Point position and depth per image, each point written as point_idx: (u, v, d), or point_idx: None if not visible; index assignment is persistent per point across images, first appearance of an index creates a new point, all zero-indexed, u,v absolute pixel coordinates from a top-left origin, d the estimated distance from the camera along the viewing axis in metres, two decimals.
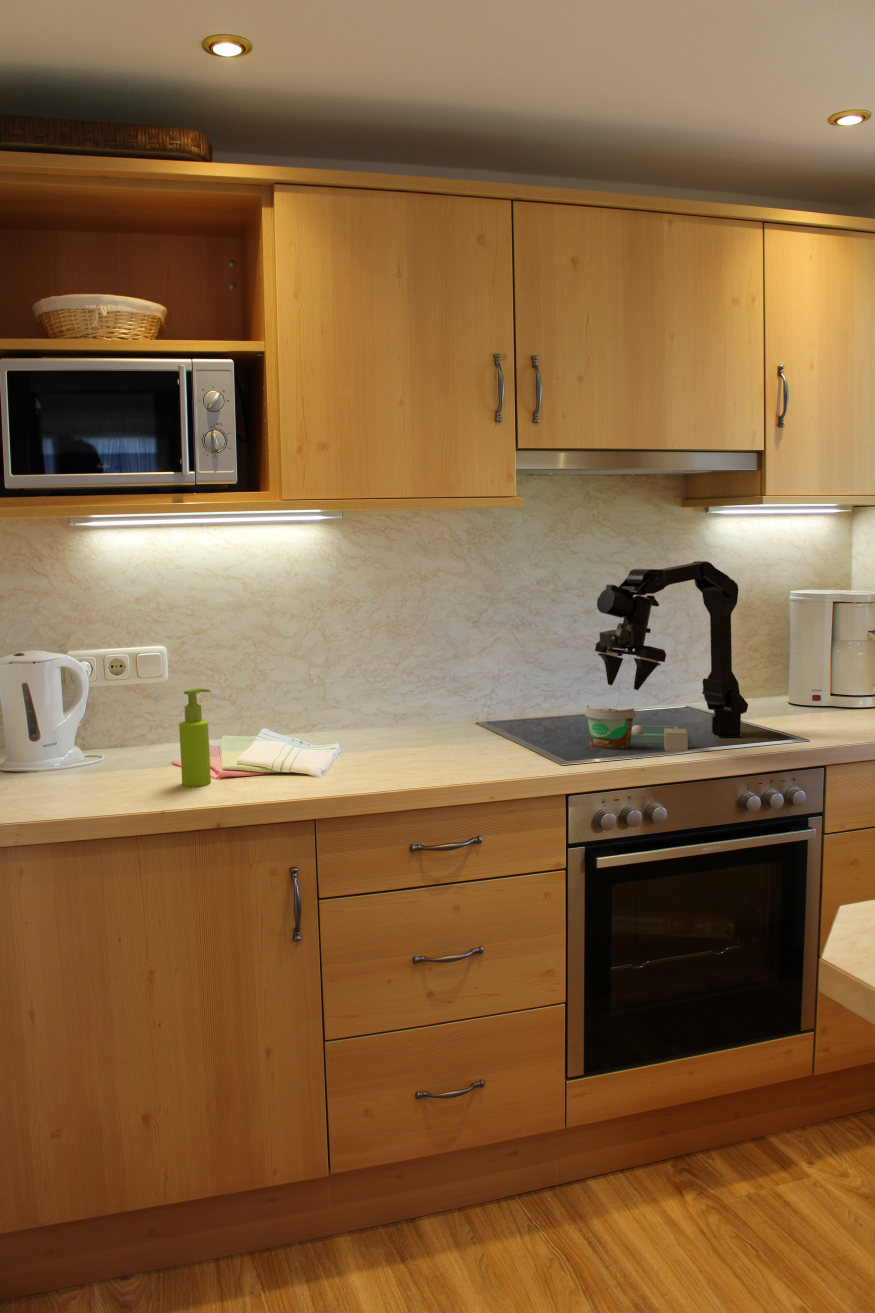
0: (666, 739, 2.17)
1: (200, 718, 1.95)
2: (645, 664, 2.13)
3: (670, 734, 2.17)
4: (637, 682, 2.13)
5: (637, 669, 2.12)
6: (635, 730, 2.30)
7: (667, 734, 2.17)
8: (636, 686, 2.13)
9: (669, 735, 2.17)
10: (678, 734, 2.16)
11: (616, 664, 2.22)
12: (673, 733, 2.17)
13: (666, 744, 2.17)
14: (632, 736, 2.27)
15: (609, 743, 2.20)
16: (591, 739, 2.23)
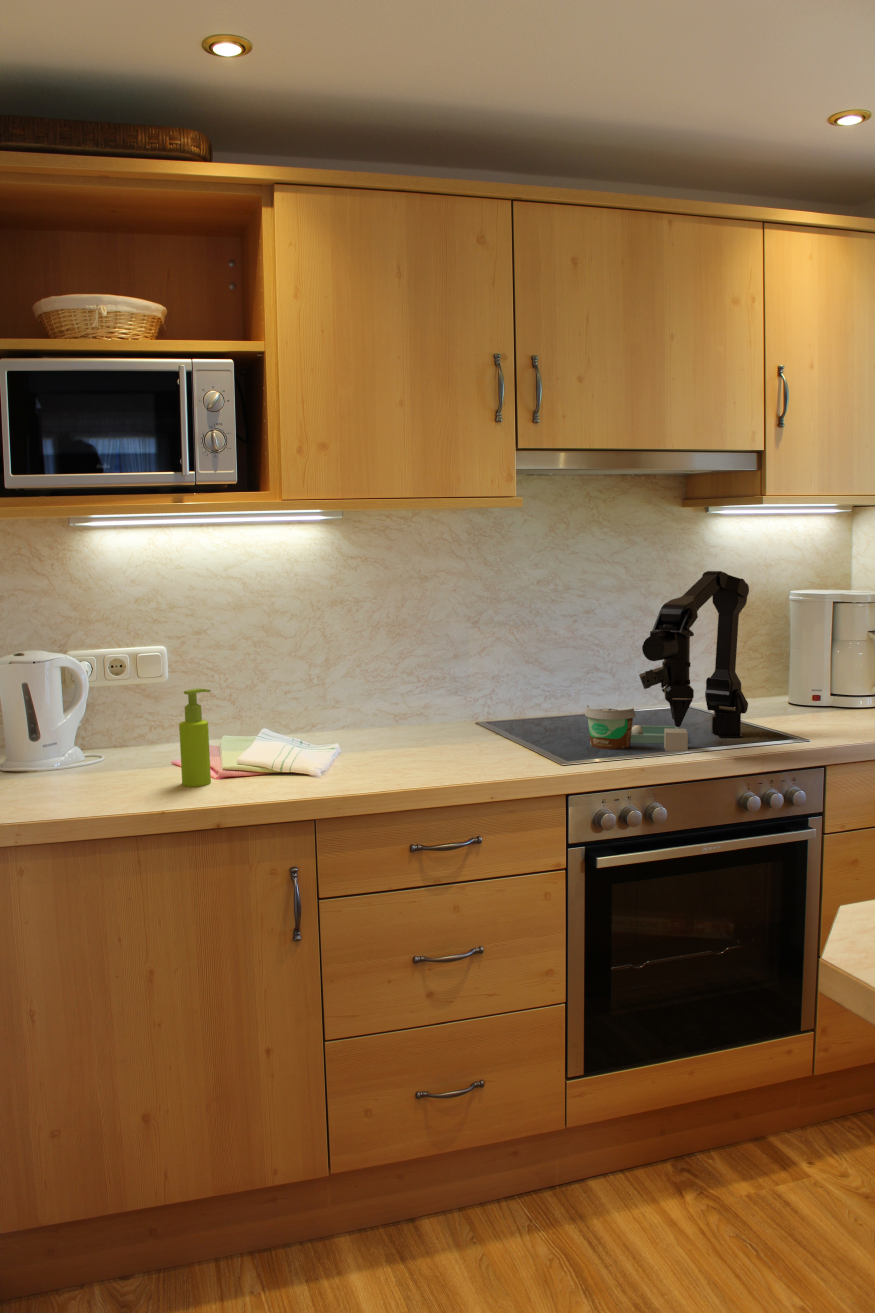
0: (666, 739, 2.17)
1: (200, 718, 1.95)
2: (679, 701, 2.12)
3: (670, 734, 2.17)
4: (675, 720, 2.14)
5: (672, 707, 2.13)
6: (635, 730, 2.30)
7: (667, 734, 2.17)
8: (676, 724, 2.14)
9: (669, 735, 2.17)
10: (678, 734, 2.16)
11: None
12: (673, 733, 2.17)
13: (666, 744, 2.17)
14: (632, 736, 2.27)
15: (609, 743, 2.20)
16: (591, 739, 2.23)
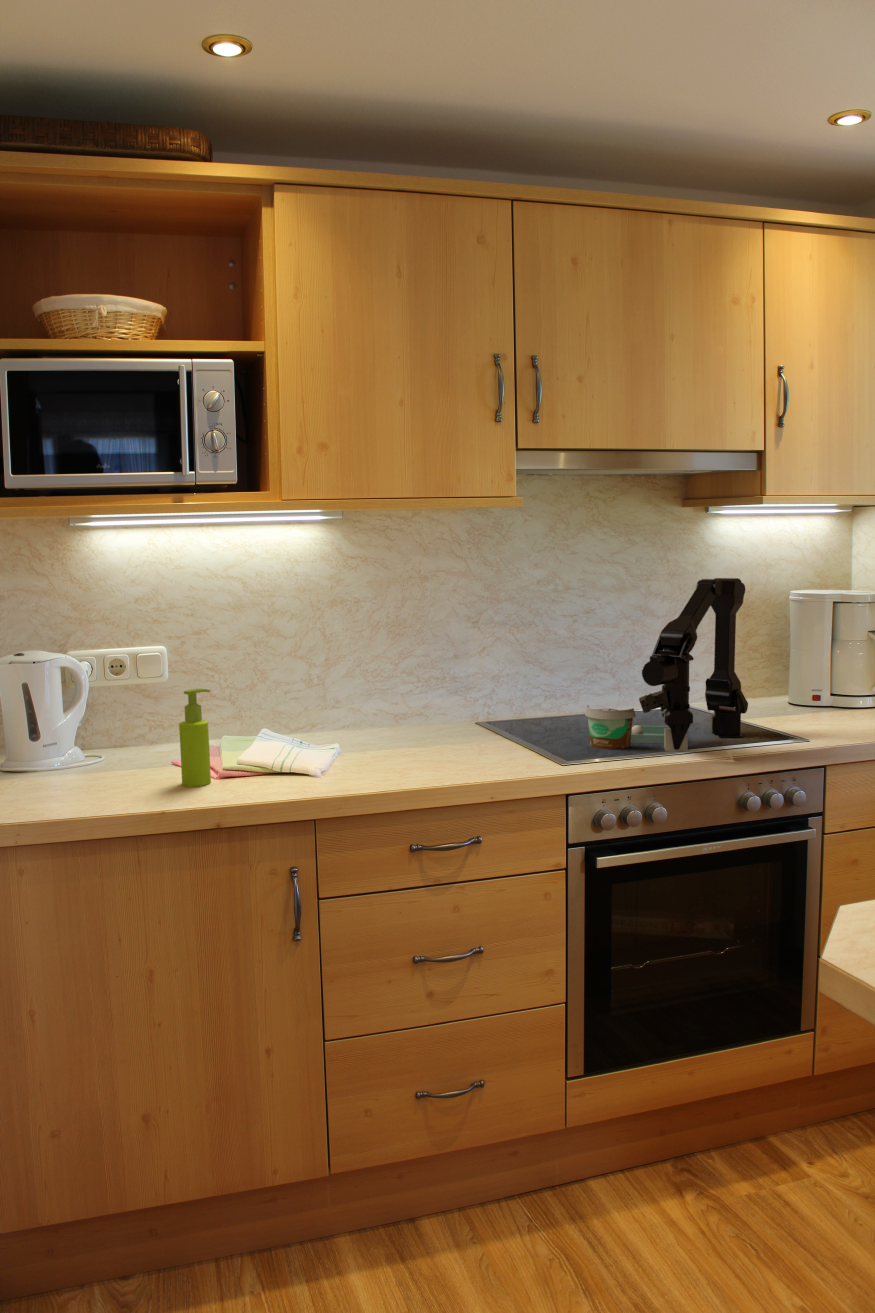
0: (666, 739, 2.17)
1: (200, 718, 1.95)
2: (678, 724, 2.15)
3: (670, 734, 2.17)
4: (674, 742, 2.16)
5: None
6: (635, 730, 2.30)
7: (667, 734, 2.17)
8: (675, 746, 2.16)
9: (669, 735, 2.17)
10: None
11: None
12: None
13: (666, 744, 2.17)
14: (632, 736, 2.27)
15: (609, 743, 2.20)
16: (591, 739, 2.23)
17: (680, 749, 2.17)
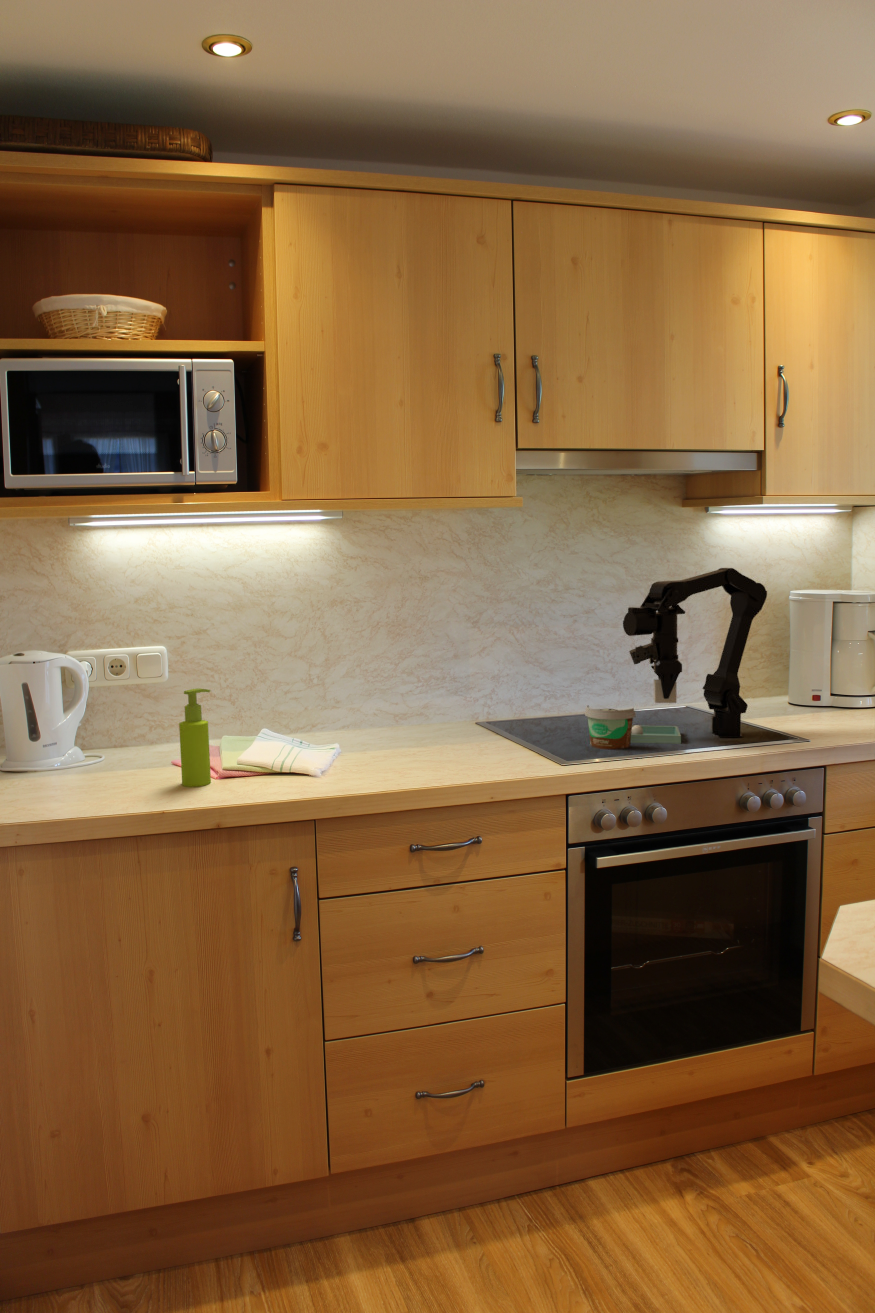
0: (656, 689, 2.26)
1: (200, 718, 1.95)
2: (667, 674, 2.24)
3: (659, 684, 2.26)
4: (663, 692, 2.25)
5: (660, 680, 2.24)
6: (635, 730, 2.30)
7: (657, 684, 2.26)
8: (665, 696, 2.25)
9: (659, 685, 2.26)
10: None
11: None
12: None
13: (656, 693, 2.26)
14: (632, 736, 2.27)
15: (609, 743, 2.20)
16: (591, 739, 2.23)
17: (669, 698, 2.26)
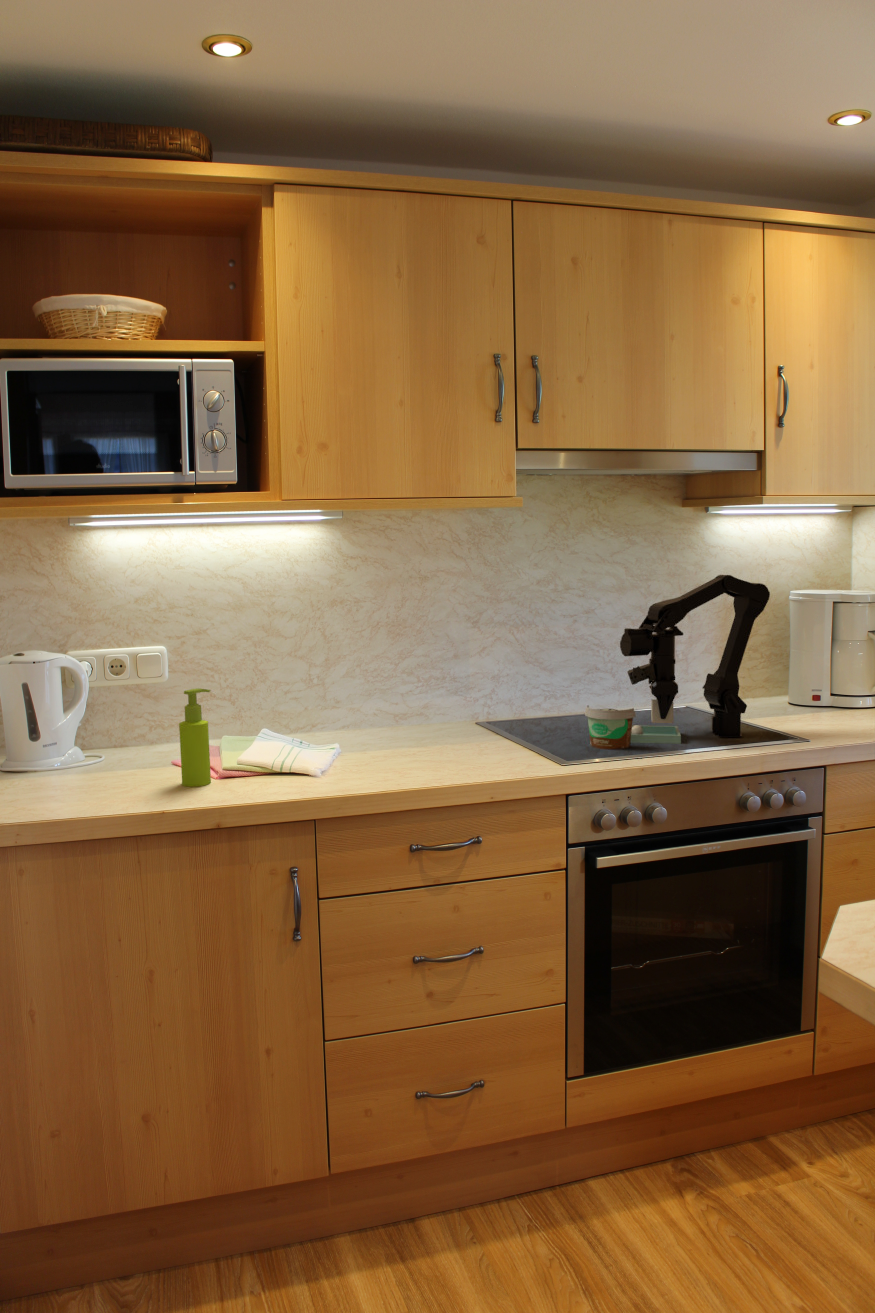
0: (653, 709, 2.29)
1: (200, 718, 1.95)
2: (664, 695, 2.26)
3: (657, 704, 2.28)
4: (660, 712, 2.28)
5: None
6: (635, 730, 2.30)
7: (654, 704, 2.28)
8: (662, 716, 2.28)
9: (656, 705, 2.28)
10: None
11: None
12: None
13: (653, 714, 2.29)
14: (632, 736, 2.27)
15: (609, 743, 2.20)
16: (591, 739, 2.23)
17: (666, 719, 2.28)
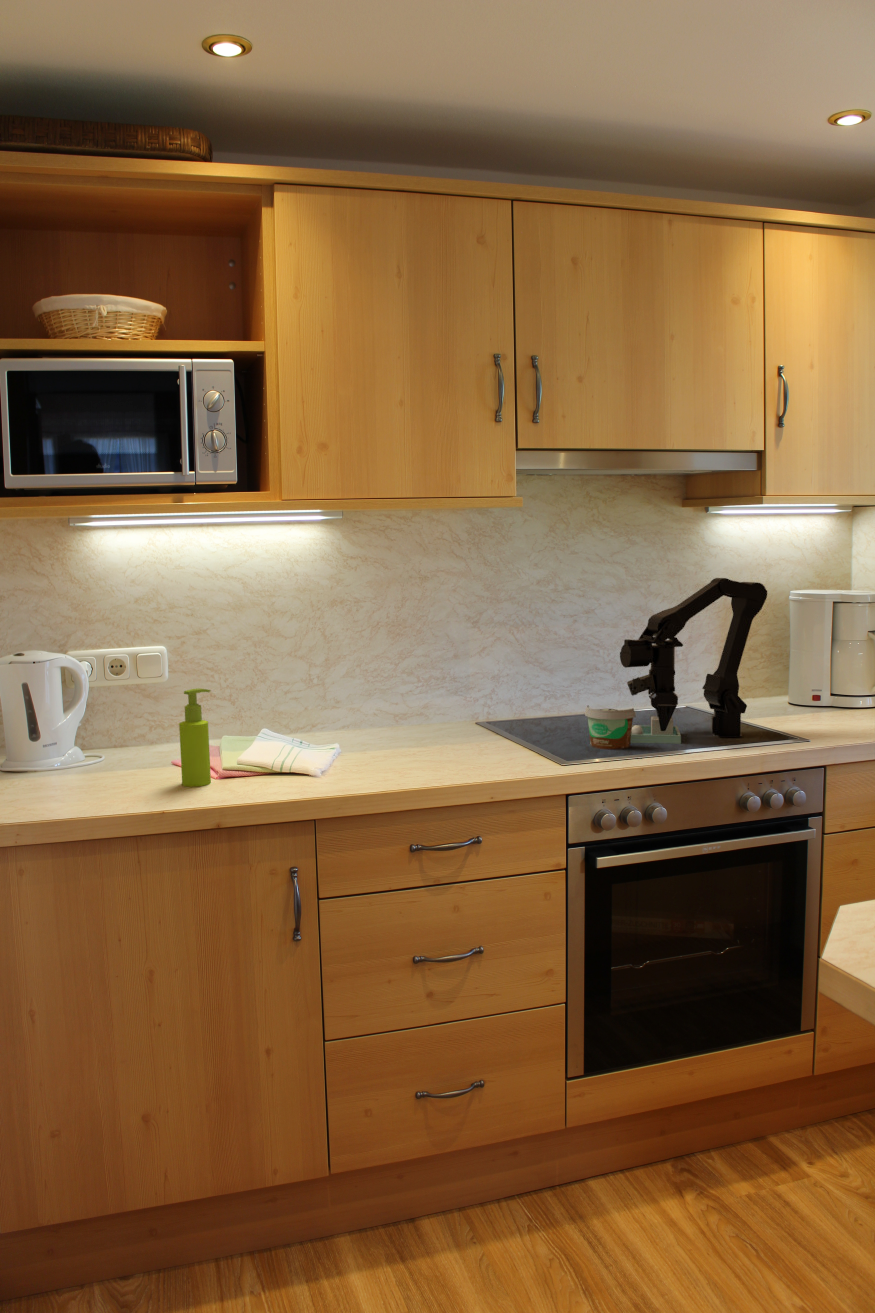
0: (652, 726, 2.29)
1: (200, 718, 1.95)
2: (664, 707, 2.25)
3: (656, 721, 2.29)
4: (660, 724, 2.26)
5: (657, 713, 2.26)
6: (635, 730, 2.30)
7: (653, 721, 2.29)
8: (661, 728, 2.27)
9: (655, 722, 2.29)
10: None
11: None
12: None
13: (652, 731, 2.29)
14: (632, 736, 2.27)
15: (609, 743, 2.20)
16: (591, 739, 2.23)
17: None
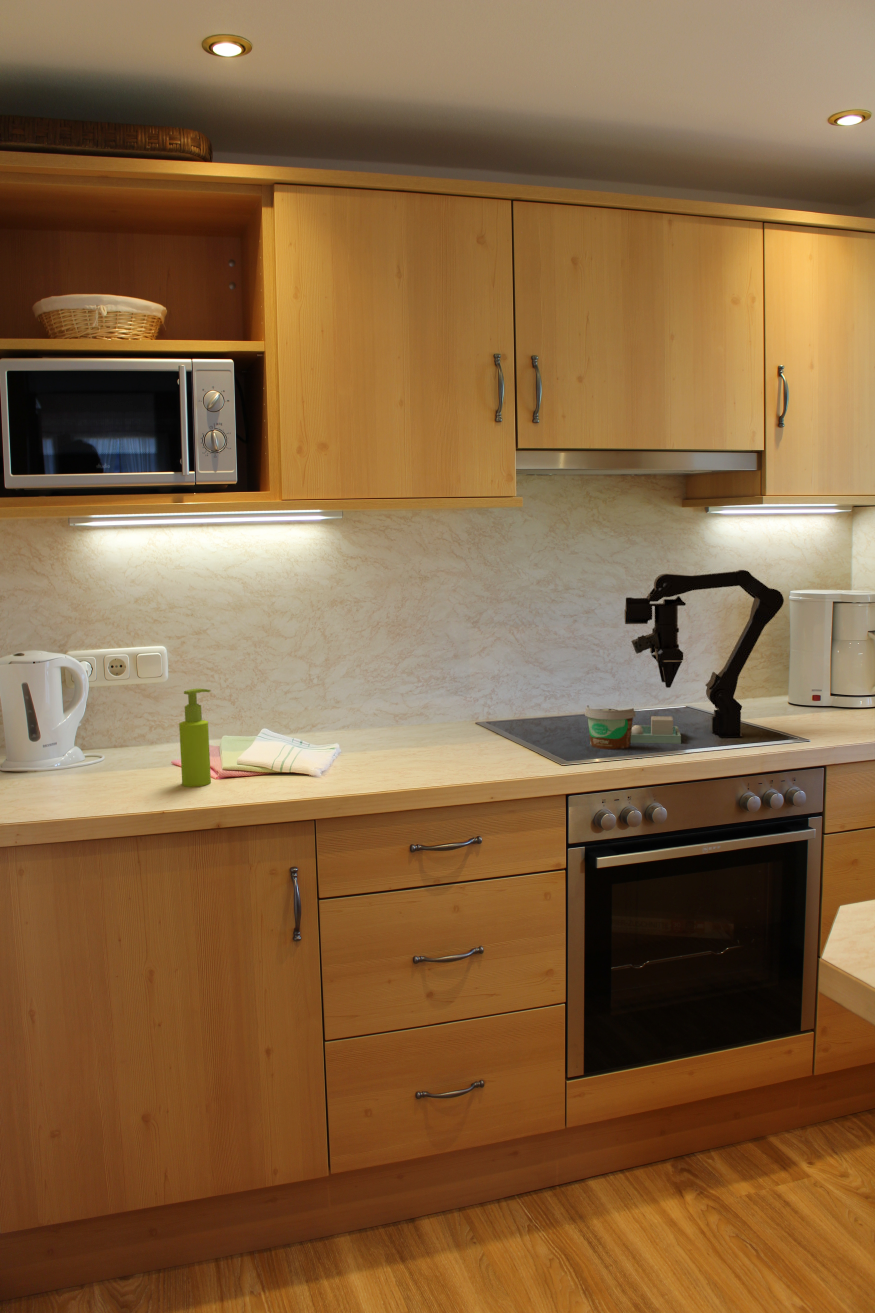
0: (652, 726, 2.29)
1: (200, 718, 1.95)
2: (669, 664, 2.31)
3: (656, 721, 2.29)
4: (666, 681, 2.32)
5: (662, 669, 2.31)
6: (635, 730, 2.30)
7: (653, 721, 2.29)
8: (667, 685, 2.32)
9: (655, 722, 2.29)
10: (664, 721, 2.28)
11: None
12: (659, 720, 2.29)
13: (652, 731, 2.29)
14: (632, 736, 2.27)
15: (609, 743, 2.20)
16: (591, 739, 2.23)
17: None
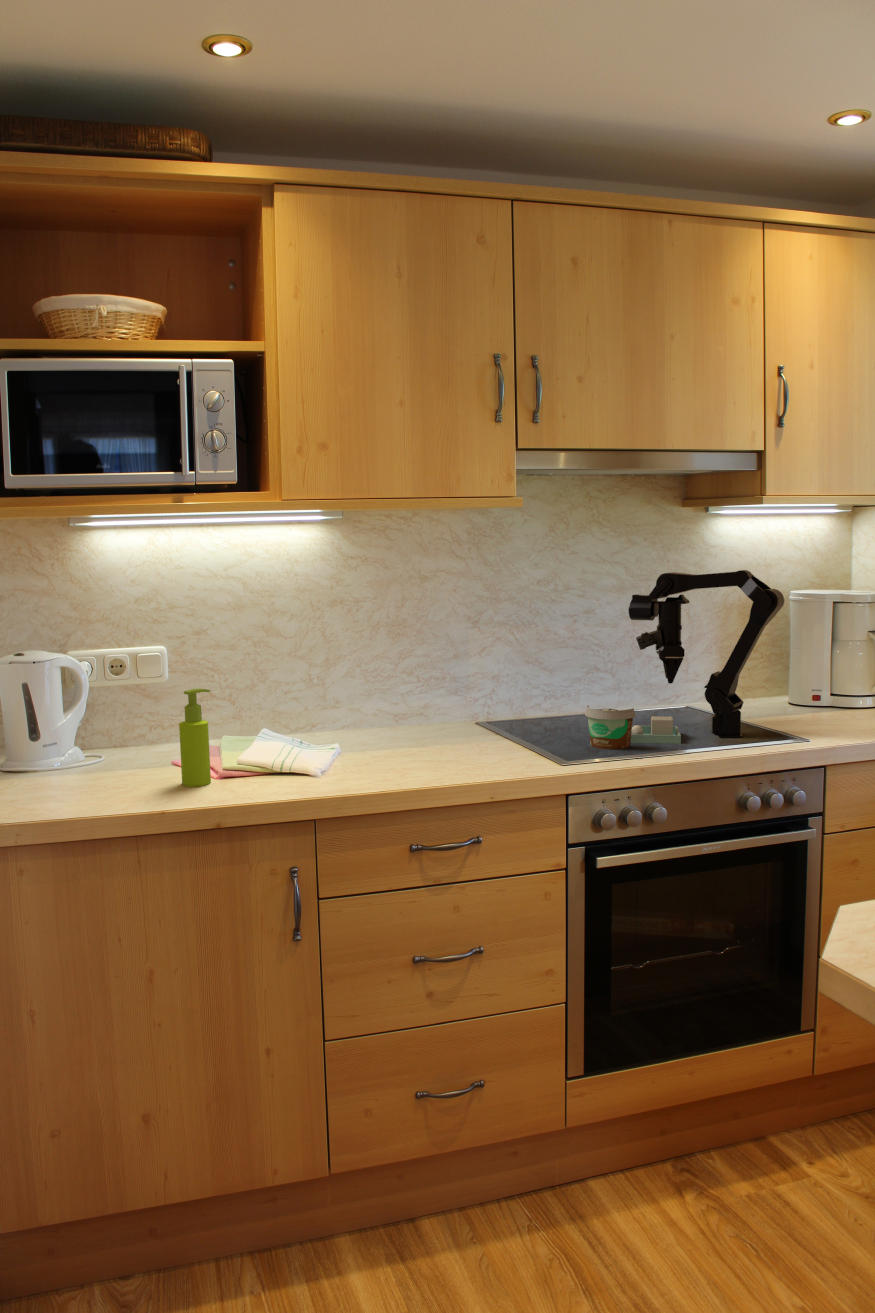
0: (652, 726, 2.29)
1: (200, 718, 1.95)
2: (671, 660, 2.37)
3: (656, 721, 2.29)
4: (668, 677, 2.38)
5: (665, 666, 2.38)
6: (635, 730, 2.30)
7: (653, 721, 2.29)
8: (669, 680, 2.39)
9: (655, 722, 2.29)
10: (664, 721, 2.28)
11: None
12: (659, 720, 2.29)
13: (652, 731, 2.29)
14: (632, 736, 2.27)
15: (609, 743, 2.20)
16: (591, 739, 2.23)
17: None
